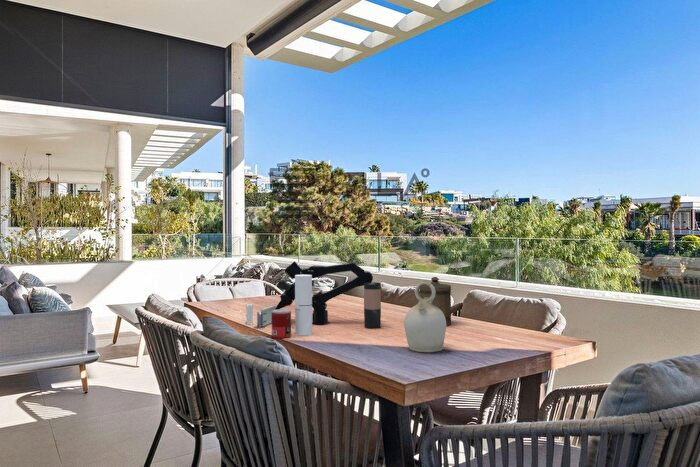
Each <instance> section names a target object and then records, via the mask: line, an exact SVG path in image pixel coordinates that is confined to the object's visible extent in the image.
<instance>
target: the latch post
mask: <svg viewBox="0 0 700 467" xmlns="http://www.w3.org/2000/svg"><path fill="white" fill-rule="evenodd" d="M245 307H246V308H245V311H246V315H245V317H246V324H247V325H252V324H251V323H253V324H254V310H253V308H254V304H251V303H250V304H246V306H245Z"/></svg>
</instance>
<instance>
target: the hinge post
mask: <svg viewBox="0 0 700 467" xmlns="http://www.w3.org/2000/svg"><path fill="white" fill-rule="evenodd" d="M256 317H257V318H256V319H257V320H256V322H257V324H256V326H253V329H258V328H262V329H265V327H266V328H267V325H263V312H261V311H257V312H256Z"/></svg>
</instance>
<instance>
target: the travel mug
mask: <svg viewBox="0 0 700 467" xmlns="http://www.w3.org/2000/svg"><path fill="white" fill-rule="evenodd" d="M381 286H382V285H381V282H373V281H372V282H369V283H364V286H363V316H364V317H363V318H364V320H363V321H364V328H365V329H368V330H369V329H370V330H377V329H380V328H381V323H382V322H381V321H382V320H381V319H382V318H381V317H382V303H381V302H382V299H381V298H382V297H381V296H382V295H381V291H382V290H381V289H382V288H381Z"/></svg>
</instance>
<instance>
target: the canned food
mask: <svg viewBox="0 0 700 467" xmlns="http://www.w3.org/2000/svg"><path fill="white" fill-rule="evenodd" d="M271 336H272V339H275V340H276V339H277V340H279V339H280V340H282V339H283V340H284V339H285V338H286V339H290V338H291V336H292V310H291V309H287V308H281V309H277V310H272V322H271Z"/></svg>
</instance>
